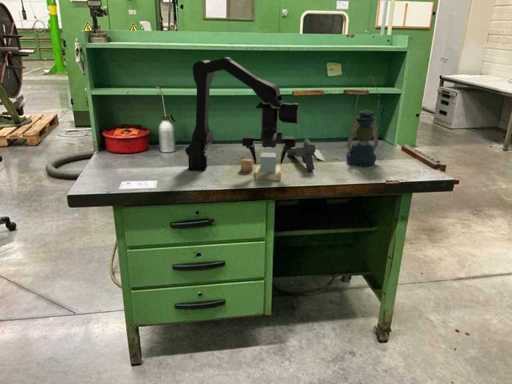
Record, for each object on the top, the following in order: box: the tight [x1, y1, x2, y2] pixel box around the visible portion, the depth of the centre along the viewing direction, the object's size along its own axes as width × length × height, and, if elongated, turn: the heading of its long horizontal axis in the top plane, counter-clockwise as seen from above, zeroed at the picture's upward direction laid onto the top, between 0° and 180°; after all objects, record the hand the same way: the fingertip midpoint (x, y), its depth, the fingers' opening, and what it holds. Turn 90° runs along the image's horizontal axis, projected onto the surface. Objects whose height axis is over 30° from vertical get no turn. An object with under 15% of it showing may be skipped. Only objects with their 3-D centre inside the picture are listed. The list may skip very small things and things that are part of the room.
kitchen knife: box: [303, 138, 326, 162], centre depth 187 cm, size 29×3×5 cm
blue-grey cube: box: [259, 152, 277, 172], centre depth 153 cm, size 6×6×6 cm
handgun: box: [286, 144, 316, 172], centre depth 170 cm, size 4×24×10 cm, turn 16°
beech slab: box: [254, 164, 282, 181], centre depth 154 cm, size 9×9×2 cm
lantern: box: [345, 74, 380, 168], centre depth 166 cm, size 14×12×35 cm
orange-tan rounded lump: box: [240, 158, 254, 173], centre depth 160 cm, size 4×4×4 cm
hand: (268, 164), depth 153 cm, fingers open, 9 cm apart
